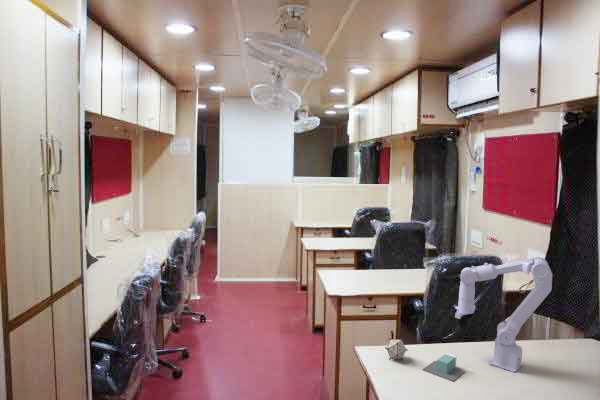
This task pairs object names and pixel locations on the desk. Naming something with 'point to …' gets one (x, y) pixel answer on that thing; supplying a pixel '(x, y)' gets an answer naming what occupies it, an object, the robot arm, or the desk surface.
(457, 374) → the pad
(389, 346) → the game die
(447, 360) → the teal block
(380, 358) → the desk surface
